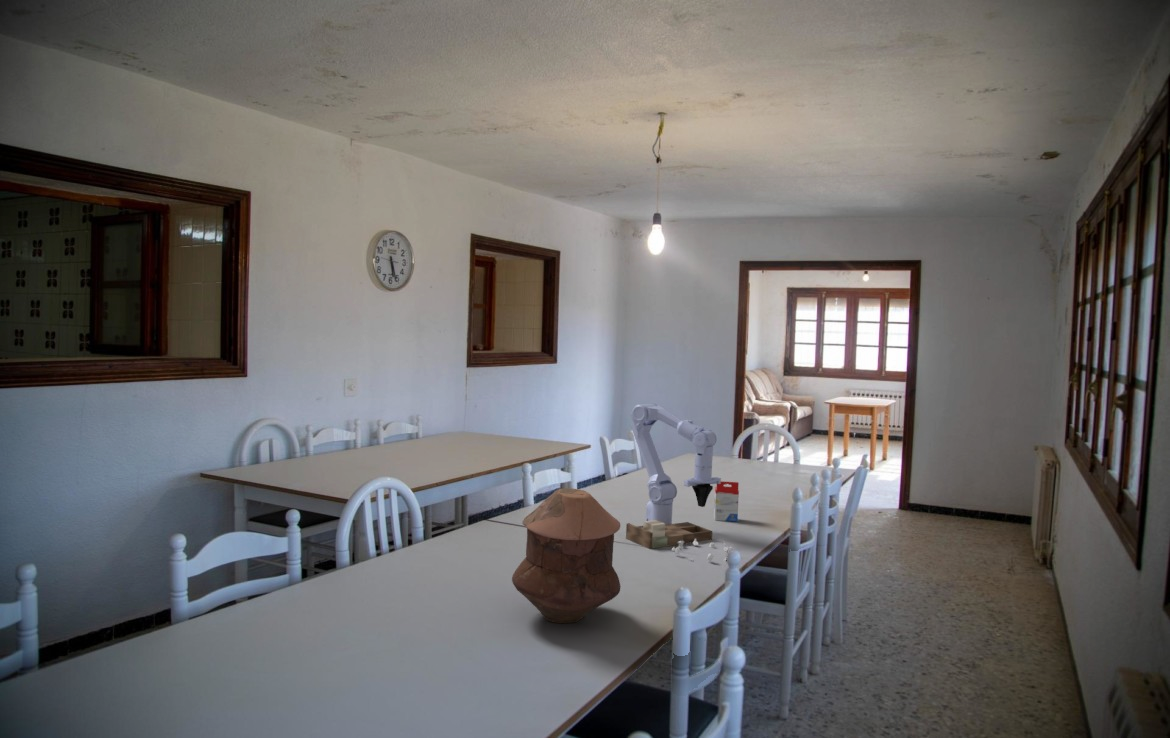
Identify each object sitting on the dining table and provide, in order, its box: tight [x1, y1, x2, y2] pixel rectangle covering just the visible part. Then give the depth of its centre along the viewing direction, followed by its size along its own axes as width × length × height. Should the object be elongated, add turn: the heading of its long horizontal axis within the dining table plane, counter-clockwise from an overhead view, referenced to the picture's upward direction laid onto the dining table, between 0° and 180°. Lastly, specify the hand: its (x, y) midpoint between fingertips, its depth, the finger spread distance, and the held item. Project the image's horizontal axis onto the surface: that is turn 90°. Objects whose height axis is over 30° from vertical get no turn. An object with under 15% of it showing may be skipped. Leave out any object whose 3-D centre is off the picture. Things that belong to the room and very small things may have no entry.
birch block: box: [642, 520, 665, 538], centre depth 247 cm, size 5×5×4 cm
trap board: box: [625, 521, 713, 550], centre depth 254 cm, size 15×26×5 cm, turn 122°
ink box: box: [713, 480, 740, 523], centre depth 284 cm, size 8×5×15 cm, turn 84°
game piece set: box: [671, 539, 734, 564], centre depth 238 cm, size 19×20×4 cm
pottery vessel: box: [511, 487, 621, 624], centre depth 180 cm, size 26×26×30 cm
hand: (701, 506), depth 258 cm, fingers closed
